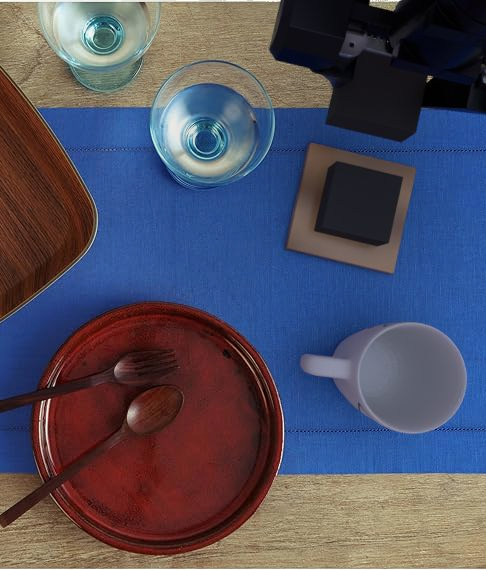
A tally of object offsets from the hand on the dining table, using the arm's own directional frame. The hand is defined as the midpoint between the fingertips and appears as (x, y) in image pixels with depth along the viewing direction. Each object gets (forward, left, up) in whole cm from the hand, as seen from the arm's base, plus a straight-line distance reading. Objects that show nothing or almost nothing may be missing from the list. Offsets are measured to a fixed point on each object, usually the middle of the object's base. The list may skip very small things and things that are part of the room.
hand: (377, 91), depth 46 cm
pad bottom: (+6, +3, -10) cm, 13 cm away
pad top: (0, 0, -1) cm, 1 cm away
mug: (+20, +6, -12) cm, 24 cm away
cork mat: (+6, +3, -11) cm, 13 cm away
